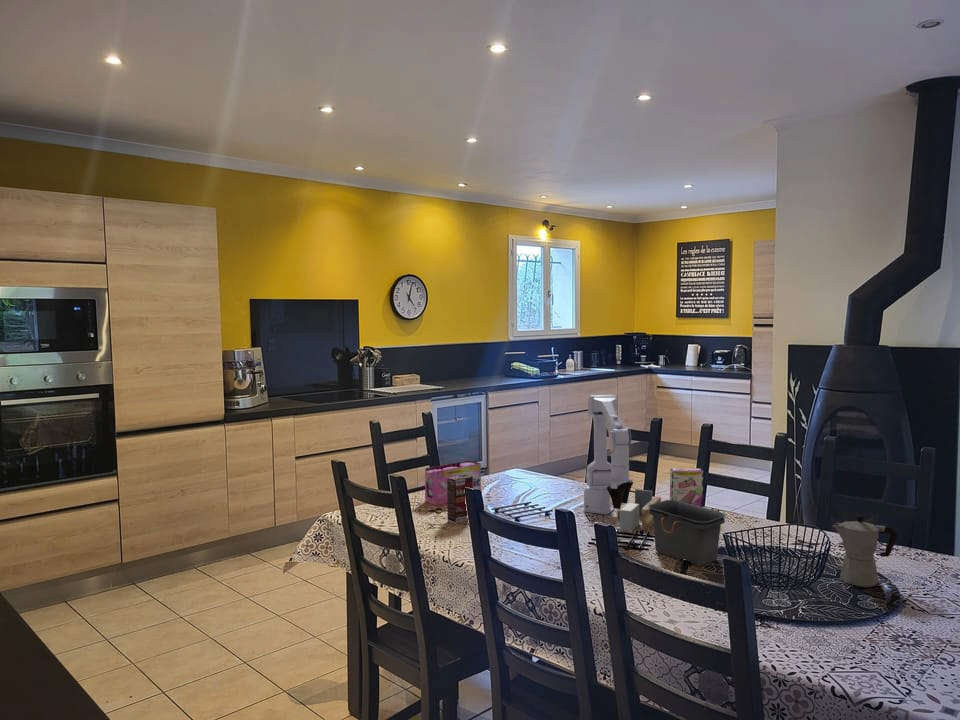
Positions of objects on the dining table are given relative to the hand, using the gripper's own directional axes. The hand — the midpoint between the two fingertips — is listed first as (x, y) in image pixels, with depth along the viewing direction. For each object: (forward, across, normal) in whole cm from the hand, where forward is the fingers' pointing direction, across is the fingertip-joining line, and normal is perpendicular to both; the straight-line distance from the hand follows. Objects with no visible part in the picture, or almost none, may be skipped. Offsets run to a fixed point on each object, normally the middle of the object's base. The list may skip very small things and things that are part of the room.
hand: (620, 505), depth 227 cm
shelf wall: (+10, +18, -6) cm, 21 cm away
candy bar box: (+10, +34, -14) cm, 38 cm away
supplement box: (+10, -9, +56) cm, 57 cm away
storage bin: (+10, -12, -23) cm, 28 cm away
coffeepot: (+11, -10, -70) cm, 72 cm away
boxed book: (+10, +10, 0) cm, 14 cm away
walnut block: (+9, +20, +5) cm, 22 cm away
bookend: (+9, +26, -1) cm, 28 cm away
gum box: (+9, +16, +74) cm, 76 cm away
